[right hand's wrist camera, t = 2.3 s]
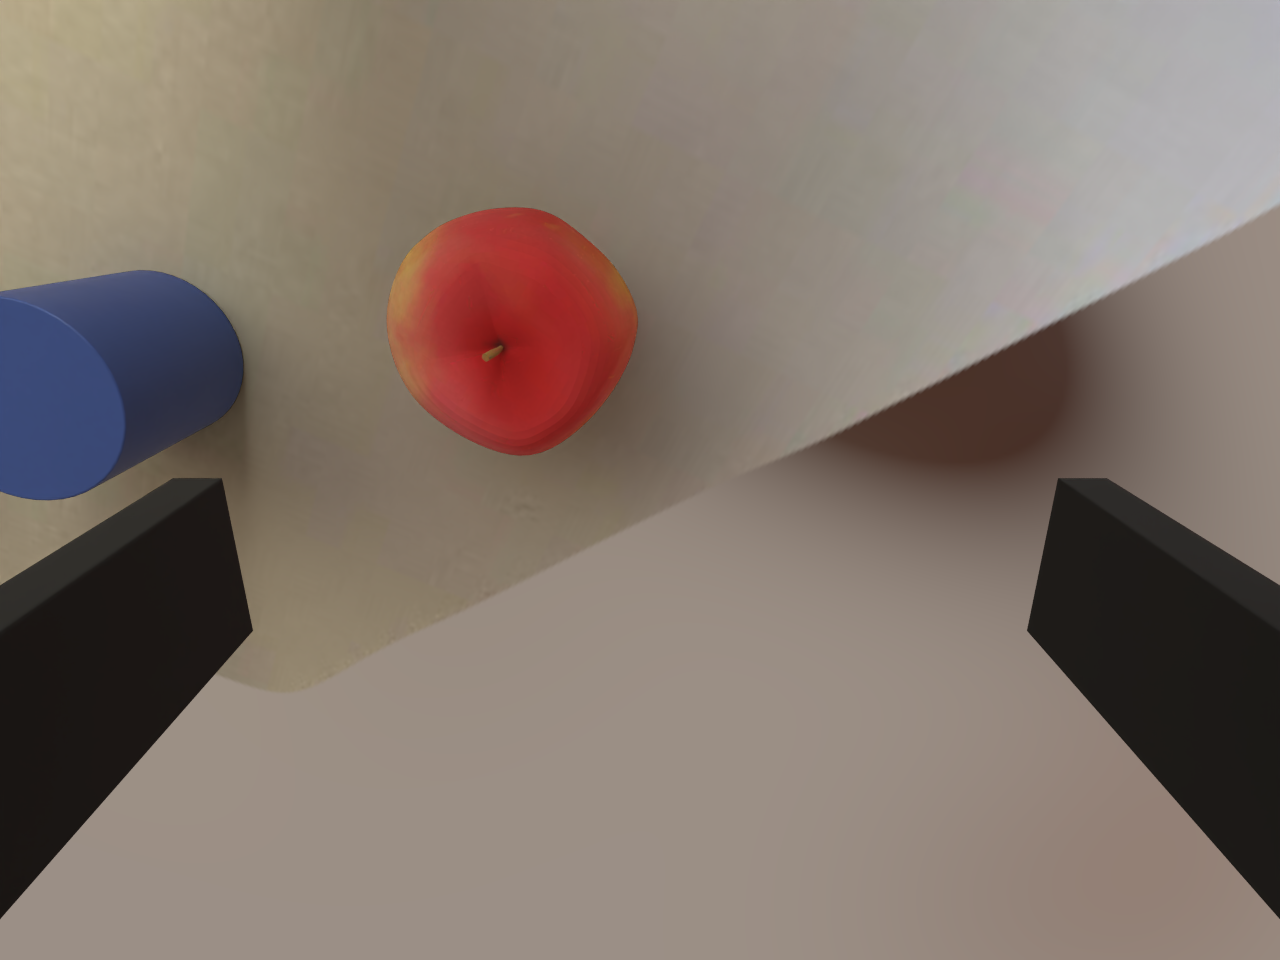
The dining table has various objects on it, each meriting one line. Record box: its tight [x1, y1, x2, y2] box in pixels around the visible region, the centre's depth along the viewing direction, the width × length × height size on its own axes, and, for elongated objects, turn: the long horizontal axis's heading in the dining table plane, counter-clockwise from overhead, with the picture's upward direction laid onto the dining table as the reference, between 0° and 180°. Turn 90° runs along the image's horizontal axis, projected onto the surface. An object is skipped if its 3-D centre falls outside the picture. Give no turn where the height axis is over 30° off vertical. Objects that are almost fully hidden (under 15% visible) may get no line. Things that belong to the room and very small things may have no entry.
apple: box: [387, 207, 638, 456], centre depth 31 cm, size 10×10×10 cm
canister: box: [0, 270, 243, 500], centre depth 32 cm, size 8×8×9 cm
